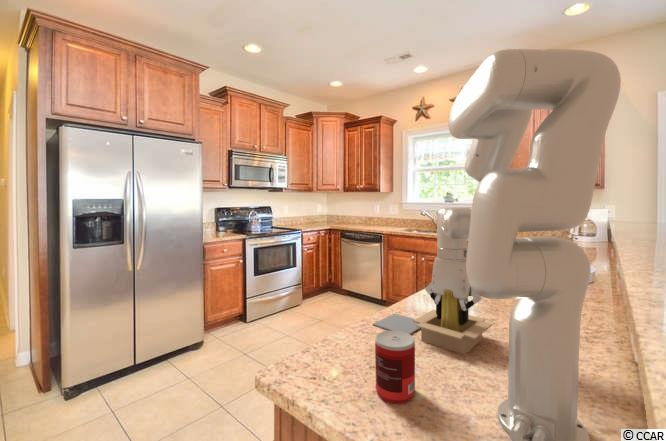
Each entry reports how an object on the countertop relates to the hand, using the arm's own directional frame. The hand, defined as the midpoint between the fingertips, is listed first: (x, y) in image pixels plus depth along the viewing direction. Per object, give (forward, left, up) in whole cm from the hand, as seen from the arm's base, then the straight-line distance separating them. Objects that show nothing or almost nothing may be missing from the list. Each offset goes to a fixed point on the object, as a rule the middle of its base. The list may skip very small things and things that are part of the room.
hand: (451, 320), depth 85 cm
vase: (0, 0, -6) cm, 6 cm away
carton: (0, 0, -5) cm, 5 cm away
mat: (0, +16, -5) cm, 17 cm away
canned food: (-30, -2, -6) cm, 31 cm away
